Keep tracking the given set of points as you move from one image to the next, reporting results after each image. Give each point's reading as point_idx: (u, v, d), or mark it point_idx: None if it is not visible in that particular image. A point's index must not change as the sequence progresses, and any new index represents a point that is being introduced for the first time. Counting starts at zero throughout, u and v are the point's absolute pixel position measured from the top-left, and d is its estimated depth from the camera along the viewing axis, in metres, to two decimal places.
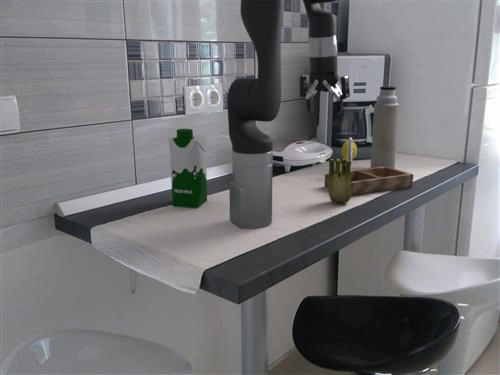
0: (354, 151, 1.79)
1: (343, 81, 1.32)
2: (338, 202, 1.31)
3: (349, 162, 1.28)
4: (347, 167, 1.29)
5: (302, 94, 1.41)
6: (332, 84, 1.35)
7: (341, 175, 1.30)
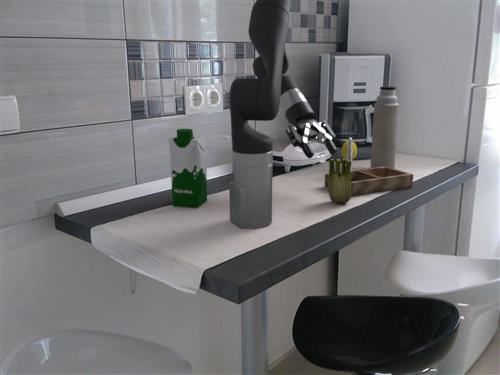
0: (354, 151, 1.79)
1: (326, 123, 1.41)
2: (338, 202, 1.31)
3: (349, 162, 1.28)
4: (347, 167, 1.29)
5: (299, 139, 1.32)
6: None
7: (341, 175, 1.30)
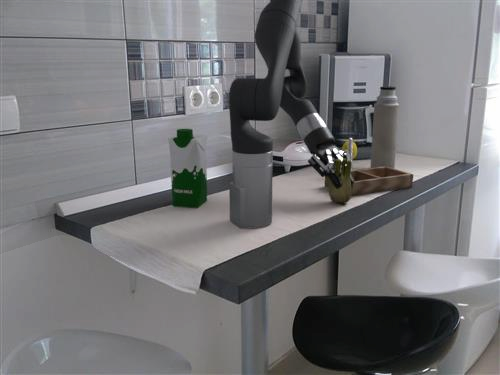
0: (354, 151, 1.79)
1: (347, 153, 1.36)
2: (338, 202, 1.31)
3: (349, 162, 1.28)
4: (347, 167, 1.29)
5: (327, 169, 1.29)
6: None
7: (341, 175, 1.30)
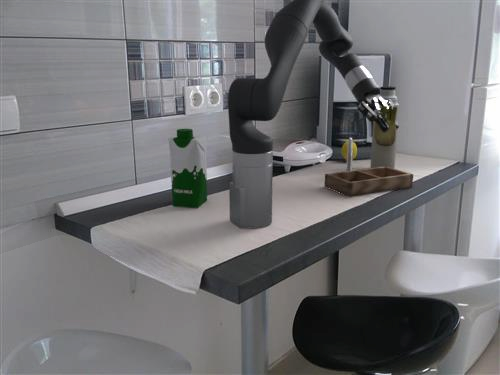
0: (354, 151, 1.79)
1: (391, 102, 1.50)
2: (384, 144, 1.45)
3: (395, 108, 1.43)
4: (393, 112, 1.43)
5: (375, 114, 1.43)
6: None
7: (387, 120, 1.45)
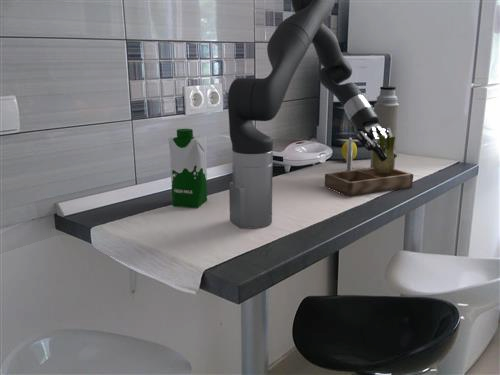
0: (354, 151, 1.79)
1: (389, 130, 1.52)
2: (382, 173, 1.47)
3: (393, 137, 1.45)
4: (391, 142, 1.46)
5: (373, 143, 1.45)
6: None
7: (385, 149, 1.47)
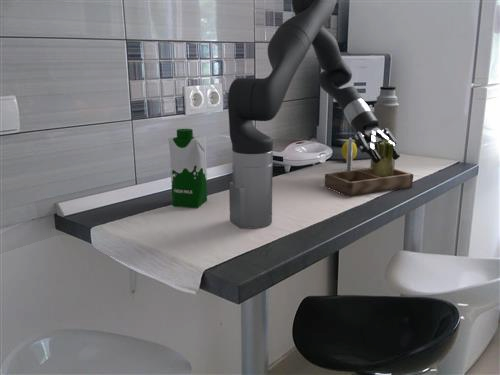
0: (354, 151, 1.79)
1: (388, 131, 1.53)
2: None
3: (392, 145, 1.46)
4: (390, 150, 1.46)
5: (367, 145, 1.45)
6: None
7: (384, 157, 1.48)
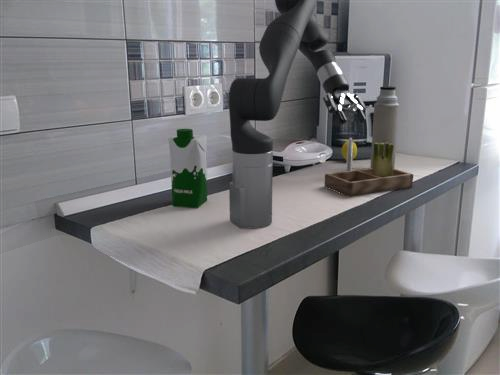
0: (354, 151, 1.79)
1: (358, 95, 1.60)
2: None
3: (392, 145, 1.46)
4: (390, 150, 1.46)
5: (335, 106, 1.51)
6: None
7: (384, 157, 1.48)
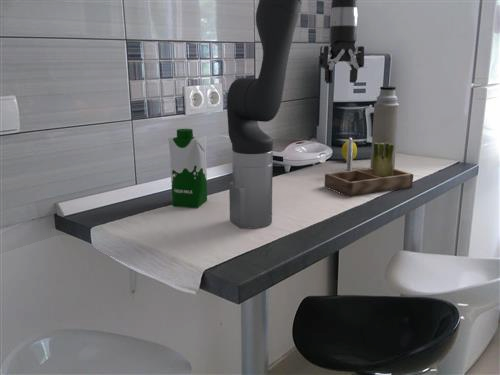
0: (354, 151, 1.79)
1: (362, 50, 1.45)
2: None
3: (392, 145, 1.46)
4: (390, 150, 1.46)
5: (326, 65, 1.41)
6: None
7: (384, 157, 1.48)
